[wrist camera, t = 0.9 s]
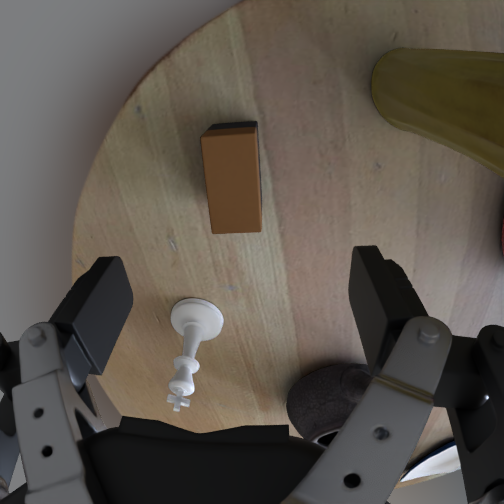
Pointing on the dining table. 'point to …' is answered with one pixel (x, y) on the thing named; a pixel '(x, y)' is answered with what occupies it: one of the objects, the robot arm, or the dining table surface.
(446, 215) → the dining table surface
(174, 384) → the chess piece
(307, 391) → the teapot
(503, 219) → the red bowl
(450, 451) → the plate
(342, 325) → the dining table surface
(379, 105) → the vase
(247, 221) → the eraser
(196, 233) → the dining table surface
